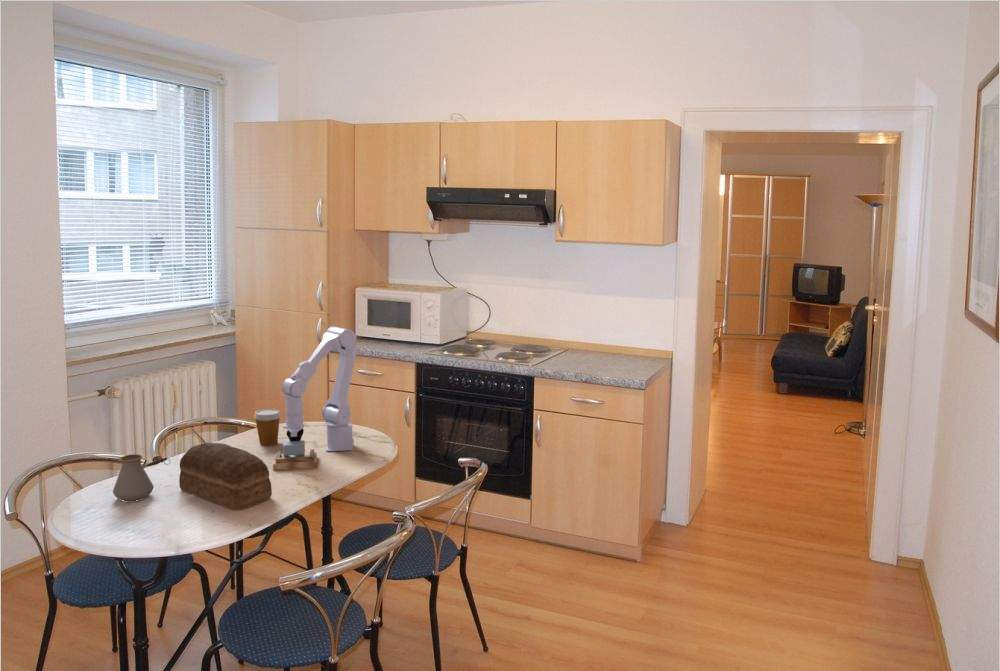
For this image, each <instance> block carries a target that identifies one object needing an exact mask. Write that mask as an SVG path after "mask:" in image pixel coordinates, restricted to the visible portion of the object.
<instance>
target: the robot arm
mask: <svg viewBox="0 0 1000 671" xmlns="http://www.w3.org/2000/svg"><path fill="white" fill-rule="evenodd" d="M357 338H358V337H357V335H356V333H355V332H354V331H353V330H352V329H350V328H342V327H339V326H336V325H335V326H334V325H332V326H330V327H328V329H327V330H326V332H325V333H324V334H323V335H322V340H321V341H320V343H319V344H318V346H317V347H316V348H315V350H314V351H313V353H312V354H311V356H310V357H309V358H308V360H303V361H302V362H300V363H299V365H298V367H297V369H296V370H295V371H294V372H293V373H292V374H291V375H290V377H289V378H286V379H285V380H284V381H283V383H282V385H281V387H280V390H281V392H282V393H283V394H284V401H285V405H284V406H285V422H286V424H283V425H282V429H286V430H287V431H286V436H287V438H288V441H302V437H303V435H304V428H305V424H304V408H303V407H304V406H303V395H304V394H305V392H306V389H307V388H306V387H307V384H308V383H309V382H310V380H311V379H312V378H313V377H314V376H315V374H316V373H317V366H318V365H319V364H320V363H321V362H322V360H323V359H325V357H326V356H327V355H328V354H329V353H330V352H331V351H333V350H337V351H338V353H339V355H340V356H339V361H338V365H337V370H336V374H335V380H334V385H333V389H332V394H331V396H330V398H328V399H327V400H326V403H325V406H324V407H323V409H322V412H321V417H322V418H323V419H324V421H325V424H326V444H325V445H326V446H325V451H326V452H341V451H342V452H343V451H344V452H345V451H353V450H354V445H353V444H354V443H355V442H354V441H355V439H354V438H353V436H354V435H353V423H349V422H350V421H351V417H352V416H351V407H352V406H351V404H350V402H349V400H348V397H349V391H350V387H351V381H352V377H353V373H354V368H355V362H356V358H357V352H358V349H357V344H356V343H357Z"/></svg>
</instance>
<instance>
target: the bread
mask: <svg viewBox="0 0 1000 671" xmlns="http://www.w3.org/2000/svg"><path fill="white" fill-rule="evenodd" d="M179 469H180V472H179V481H178V483H179V488H180V490H181V491H182V490H183V492H185V493H188V494H190V495H192V494H193V496H196V497H198V498H202V499H203V500H207V501H210V502H212V503H214V504H216V505H220V506H223V507H225V508H228V509H231V510H235V511H238V510H243V509H247V508H250V507H252V506H256V505H258V504H262V503H264V502H265V501H268V500H269V499H270V498H272V494H273V492H272V483H271V480H270V471H269V467H268V466H267V464H266V463H265V462H264V460H262V458H259V457H258V456H256V455H254V454H253V453H251V452H249V451H247V450H244V449H242V448H238V447H234V446H231V445H228V444H226V443H219V442H204V443H201V444H195V445H194V446H191V447H190V448H189V449H188V450H187V451H185V453H184V454H183V455H182V457H181V458H180V459H179Z"/></svg>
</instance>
